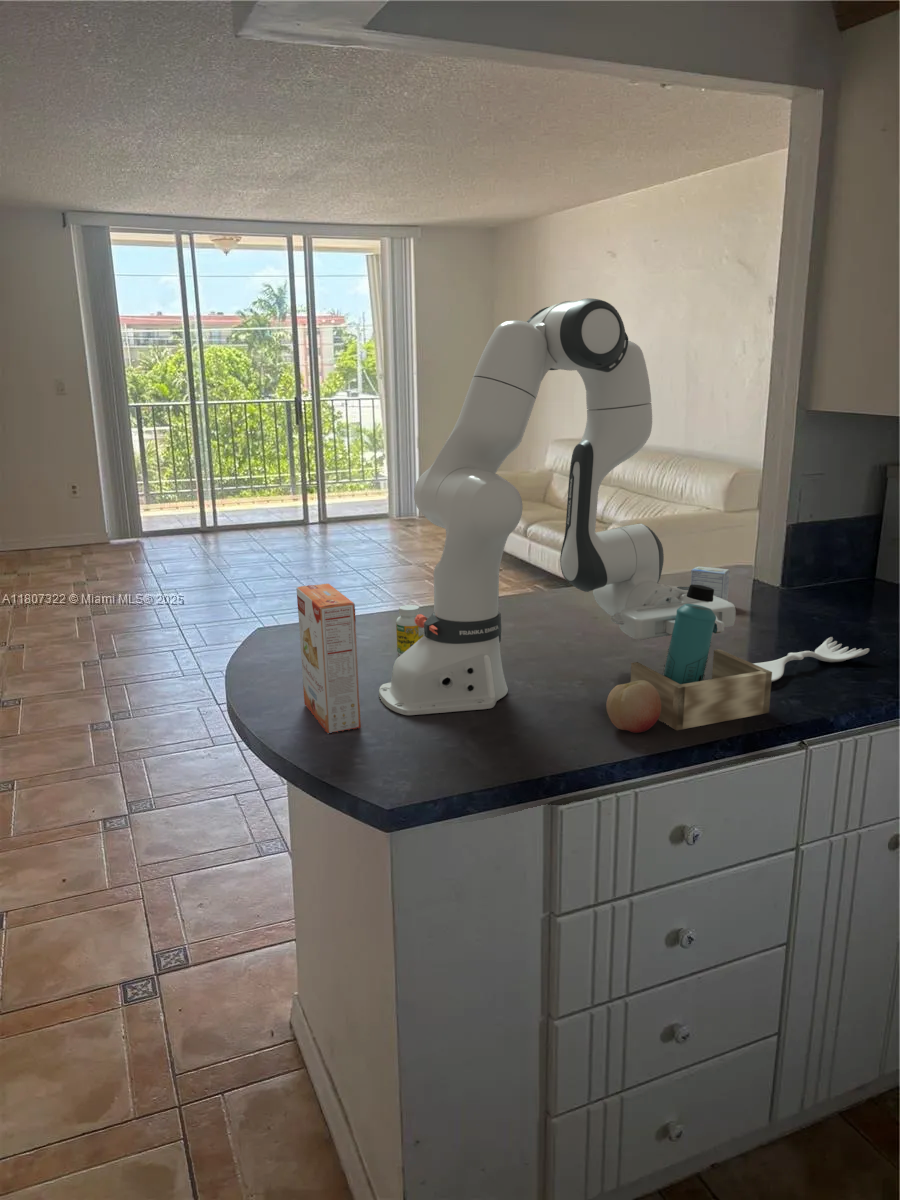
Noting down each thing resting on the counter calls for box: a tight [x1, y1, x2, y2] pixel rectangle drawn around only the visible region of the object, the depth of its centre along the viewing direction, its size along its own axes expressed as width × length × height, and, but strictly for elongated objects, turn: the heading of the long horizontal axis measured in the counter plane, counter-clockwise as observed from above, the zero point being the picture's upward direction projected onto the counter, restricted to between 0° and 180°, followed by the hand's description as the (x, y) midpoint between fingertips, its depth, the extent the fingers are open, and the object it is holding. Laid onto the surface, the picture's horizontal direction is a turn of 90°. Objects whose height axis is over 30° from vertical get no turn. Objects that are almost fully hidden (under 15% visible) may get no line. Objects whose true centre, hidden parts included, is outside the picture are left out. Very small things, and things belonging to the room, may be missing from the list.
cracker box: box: [296, 583, 362, 734], centre depth 140 cm, size 14×6×21 cm, turn 24°
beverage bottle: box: [662, 584, 716, 684], centre depth 142 cm, size 6×7×20 cm
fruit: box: [605, 680, 661, 734], centre depth 135 cm, size 8×8×8 cm
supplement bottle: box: [395, 604, 424, 656], centre depth 173 cm, size 5×5×10 cm
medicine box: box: [690, 566, 730, 601], centre depth 207 cm, size 8×4×9 cm, turn 58°
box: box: [630, 649, 772, 731], centre depth 144 cm, size 18×13×7 cm
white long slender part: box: [752, 636, 870, 683], centre depth 162 cm, size 9×32×4 cm, turn 119°
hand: (707, 630), depth 141 cm, fingers open, 4 cm apart
